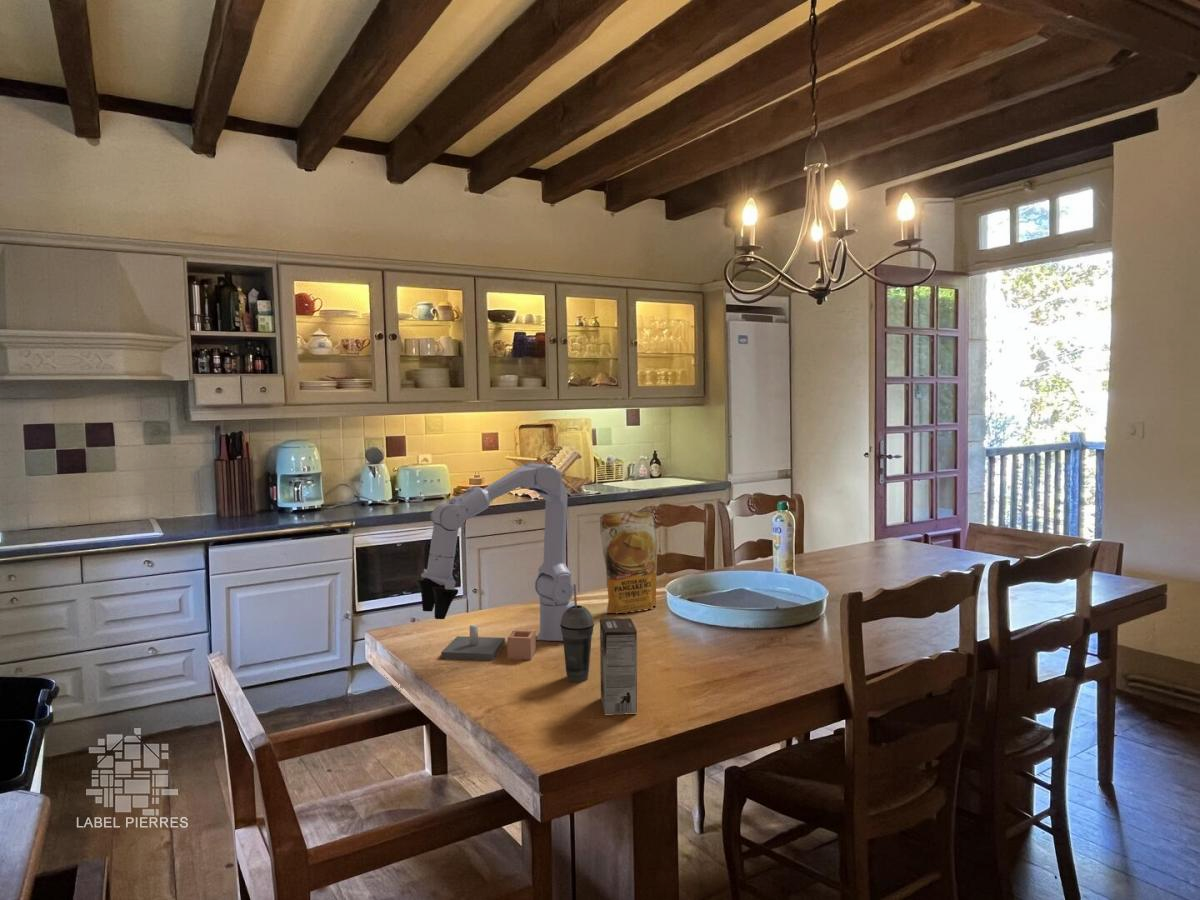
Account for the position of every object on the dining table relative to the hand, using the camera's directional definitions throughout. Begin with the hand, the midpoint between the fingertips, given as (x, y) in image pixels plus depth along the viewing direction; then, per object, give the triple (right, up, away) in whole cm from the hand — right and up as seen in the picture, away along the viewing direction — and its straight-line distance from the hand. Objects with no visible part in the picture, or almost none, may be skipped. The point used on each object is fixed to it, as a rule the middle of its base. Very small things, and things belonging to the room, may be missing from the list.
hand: (433, 615), depth 172 cm
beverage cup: (+33, -11, -11) cm, 37 cm away
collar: (+20, -10, +4) cm, 23 cm away
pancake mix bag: (+47, -8, +43) cm, 64 cm away
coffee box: (+41, -12, -26) cm, 50 cm away
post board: (+8, -10, +7) cm, 15 cm away
